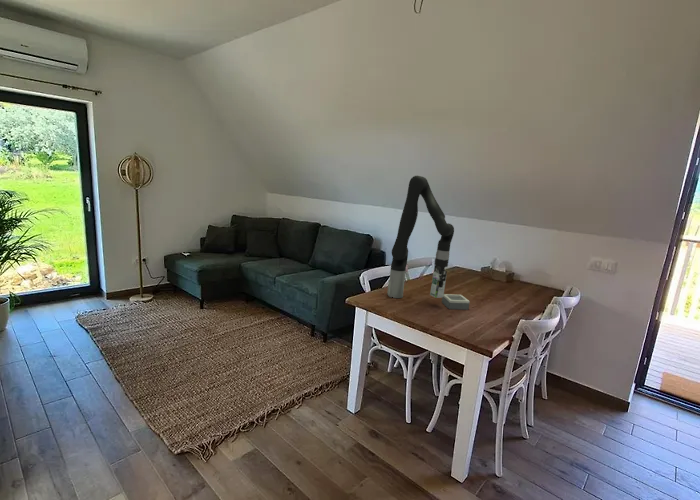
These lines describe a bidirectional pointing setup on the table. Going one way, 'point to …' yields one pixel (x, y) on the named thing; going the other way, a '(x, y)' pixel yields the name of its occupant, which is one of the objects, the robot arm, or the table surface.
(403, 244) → the robot arm
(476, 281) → the table surface
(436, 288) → the syrup box
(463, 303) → the plinth
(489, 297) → the table surface
